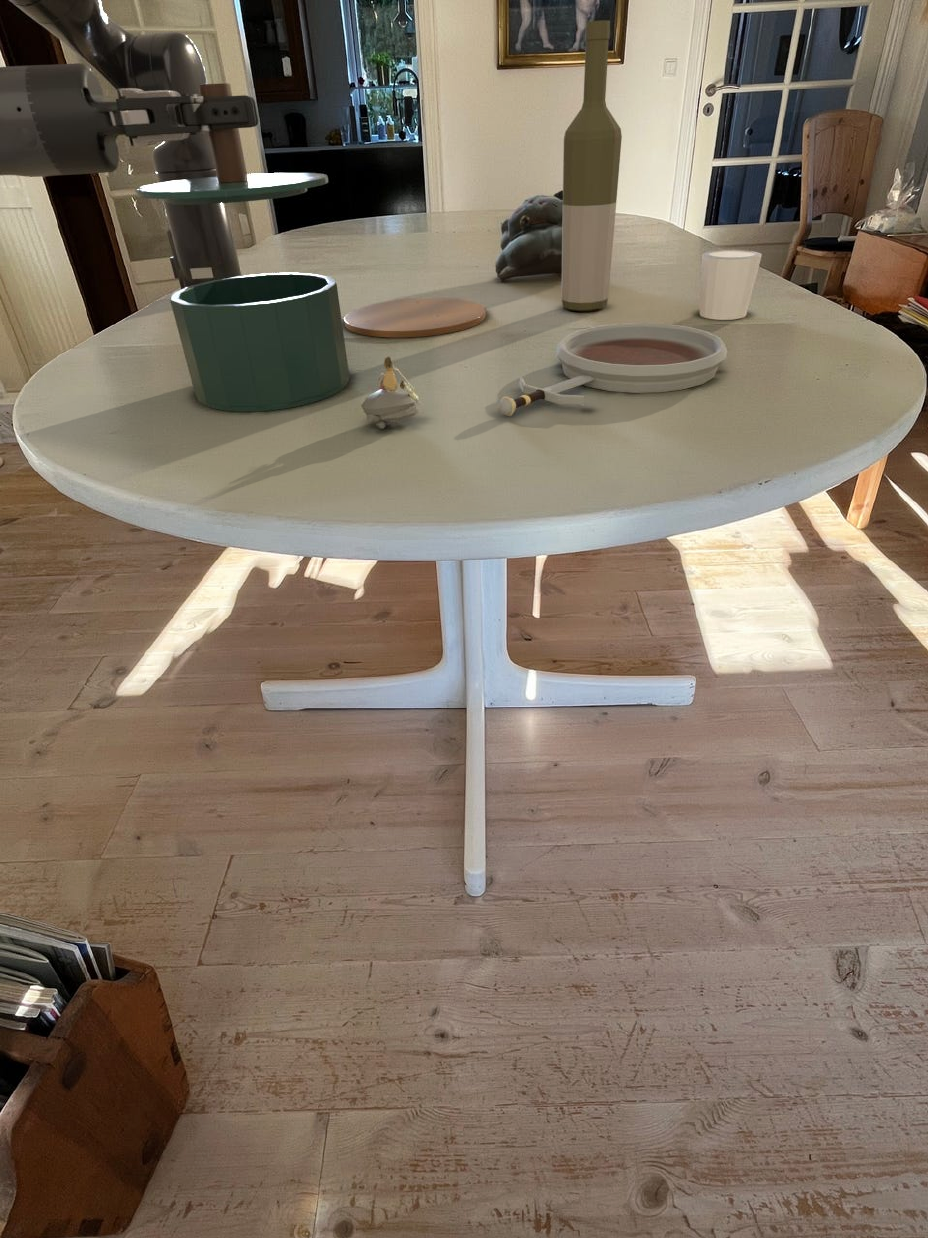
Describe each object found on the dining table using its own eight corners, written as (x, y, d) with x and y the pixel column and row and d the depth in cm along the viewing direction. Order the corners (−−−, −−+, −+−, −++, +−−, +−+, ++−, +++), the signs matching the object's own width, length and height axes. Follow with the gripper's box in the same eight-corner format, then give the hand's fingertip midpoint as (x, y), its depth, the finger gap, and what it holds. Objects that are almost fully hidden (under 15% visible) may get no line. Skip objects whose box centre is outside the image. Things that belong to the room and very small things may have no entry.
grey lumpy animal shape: (479, 282, 114) (476, 190, 112) (520, 300, 123) (517, 216, 122) (561, 256, 105) (558, 156, 103) (598, 278, 114) (596, 186, 113)
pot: (164, 399, 73) (135, 299, 67) (270, 358, 83) (252, 269, 78) (279, 420, 66) (257, 311, 60) (378, 373, 77) (367, 277, 71)
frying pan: (439, 373, 68) (627, 311, 82) (441, 403, 69) (625, 337, 83) (573, 414, 57) (763, 335, 71) (572, 449, 59) (758, 365, 73)
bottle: (586, 316, 93) (601, 16, 75) (547, 309, 97) (553, 24, 80) (621, 306, 96) (643, 18, 79) (581, 299, 101) (594, 25, 83)
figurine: (366, 434, 62) (356, 364, 58) (362, 417, 65) (353, 350, 62) (425, 427, 63) (420, 357, 59) (418, 411, 66) (413, 344, 63)
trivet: (315, 330, 94) (314, 323, 93) (397, 299, 107) (396, 294, 106) (437, 343, 85) (437, 336, 85) (510, 308, 99) (510, 302, 98)
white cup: (683, 312, 92) (690, 252, 88) (726, 305, 94) (735, 246, 90) (718, 323, 87) (728, 260, 83) (763, 315, 89) (774, 253, 85)
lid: (97, 205, 62) (63, 90, 58) (236, 185, 74) (216, 88, 69) (236, 208, 55) (210, 77, 50) (365, 185, 67) (354, 77, 62)
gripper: (-5, 60, 52) (238, 49, 54) (52, 69, 63) (251, 60, 65) (36, 181, 56) (259, 167, 58) (82, 169, 67) (268, 158, 69)
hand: (254, 111), depth 61 cm, fingers closed on lid, 2 cm apart
